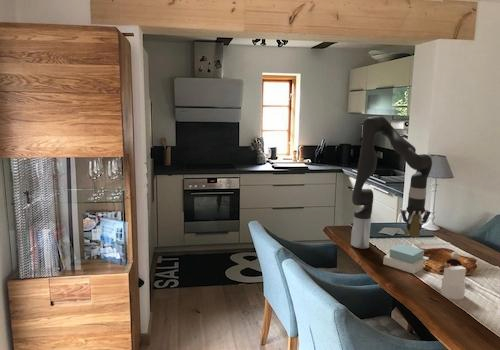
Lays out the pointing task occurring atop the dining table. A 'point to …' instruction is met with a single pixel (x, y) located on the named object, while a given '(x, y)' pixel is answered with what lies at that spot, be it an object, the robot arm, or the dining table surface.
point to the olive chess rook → (414, 226)
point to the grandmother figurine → (453, 260)
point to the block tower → (405, 258)
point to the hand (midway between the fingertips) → (413, 230)
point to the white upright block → (453, 282)
